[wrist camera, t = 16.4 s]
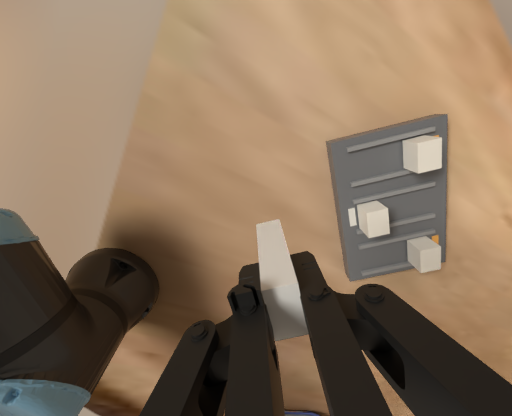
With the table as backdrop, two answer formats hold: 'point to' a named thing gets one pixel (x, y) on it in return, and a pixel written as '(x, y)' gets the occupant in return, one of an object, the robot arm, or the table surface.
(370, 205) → the switch middle
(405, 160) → the switch
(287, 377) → the table surface
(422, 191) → the switch panel
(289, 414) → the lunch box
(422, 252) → the switch
